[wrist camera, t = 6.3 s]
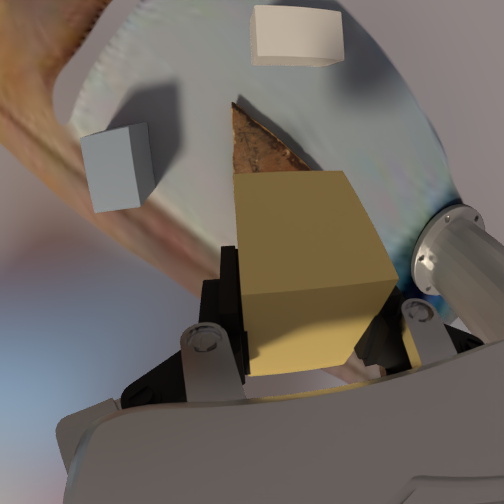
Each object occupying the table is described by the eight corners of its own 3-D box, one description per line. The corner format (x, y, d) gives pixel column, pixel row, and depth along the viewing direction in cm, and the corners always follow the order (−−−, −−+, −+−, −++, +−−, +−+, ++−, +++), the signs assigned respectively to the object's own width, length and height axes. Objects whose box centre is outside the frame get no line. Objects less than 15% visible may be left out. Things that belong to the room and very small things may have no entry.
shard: (231, 101, 22) (231, 101, 20) (320, 104, 22) (327, 104, 21) (234, 219, 27) (234, 227, 25) (314, 217, 27) (319, 225, 26)
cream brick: (320, 26, 18) (341, 11, 14) (322, 67, 20) (344, 60, 16) (249, 23, 18) (254, 5, 14) (251, 65, 20) (257, 56, 15)
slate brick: (105, 130, 21) (80, 138, 17) (147, 121, 21) (128, 126, 17) (116, 192, 24) (94, 213, 20) (155, 187, 24) (140, 206, 20)
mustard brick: (233, 174, 10) (241, 295, 6) (342, 170, 10) (399, 279, 7) (241, 279, 14) (248, 376, 11) (319, 272, 14) (343, 364, 11)
